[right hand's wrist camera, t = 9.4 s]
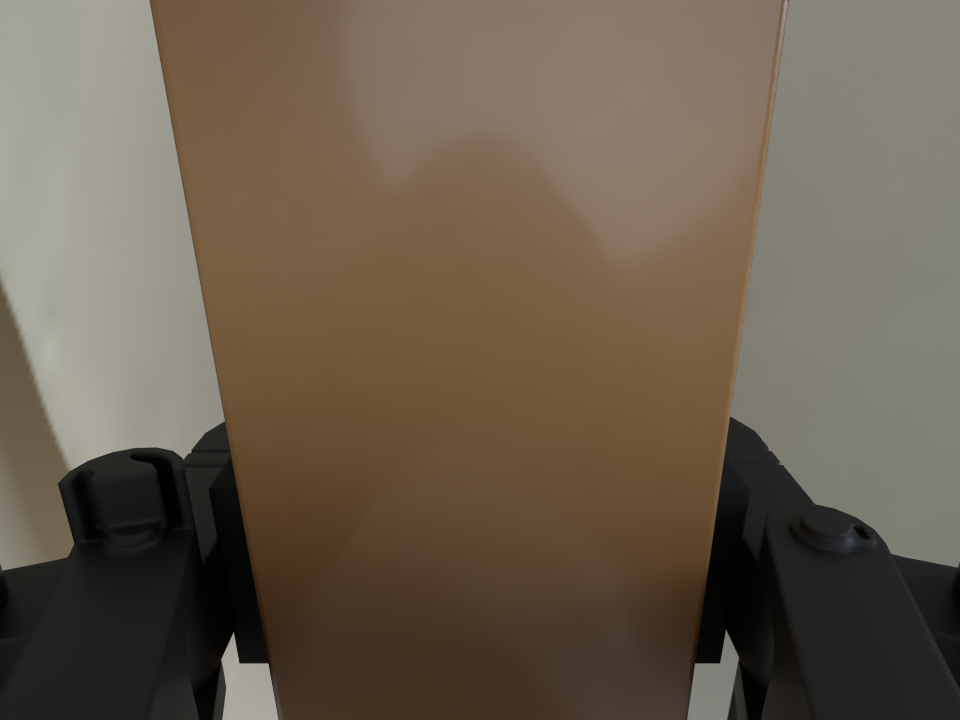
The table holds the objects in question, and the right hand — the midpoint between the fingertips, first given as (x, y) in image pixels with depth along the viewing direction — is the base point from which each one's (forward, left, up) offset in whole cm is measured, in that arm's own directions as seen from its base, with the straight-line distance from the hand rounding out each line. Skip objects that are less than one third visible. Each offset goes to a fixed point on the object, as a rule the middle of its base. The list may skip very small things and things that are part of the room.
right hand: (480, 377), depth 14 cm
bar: (+24, +5, -1) cm, 25 cm away
